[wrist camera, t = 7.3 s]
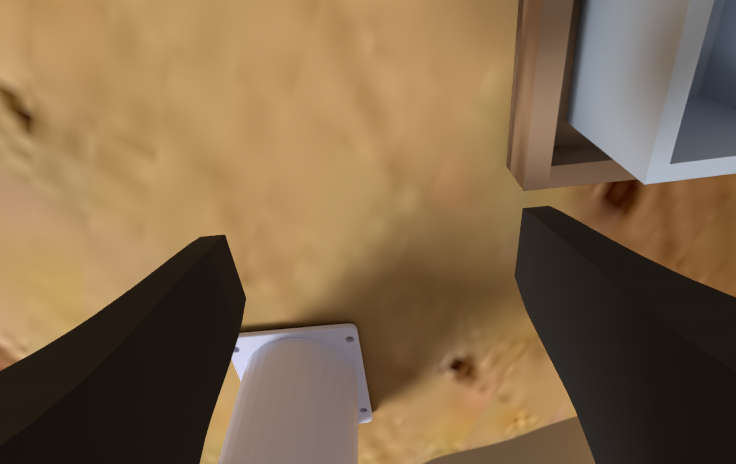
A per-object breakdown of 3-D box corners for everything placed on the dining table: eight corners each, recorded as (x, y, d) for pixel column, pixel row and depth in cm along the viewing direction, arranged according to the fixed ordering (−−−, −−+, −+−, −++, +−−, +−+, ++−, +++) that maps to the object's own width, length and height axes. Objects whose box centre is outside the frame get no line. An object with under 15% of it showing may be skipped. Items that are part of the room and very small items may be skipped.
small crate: (699, 102, 18) (833, 161, 13) (565, 121, 18) (644, 184, 13) (772, -149, 13) (1020, -212, 8) (594, -119, 14) (729, -162, 9)
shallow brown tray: (715, 144, 19) (758, 166, 17) (506, 166, 20) (523, 191, 18) (849, -230, 13) (944, -266, 11) (532, -184, 13) (564, -210, 11)
